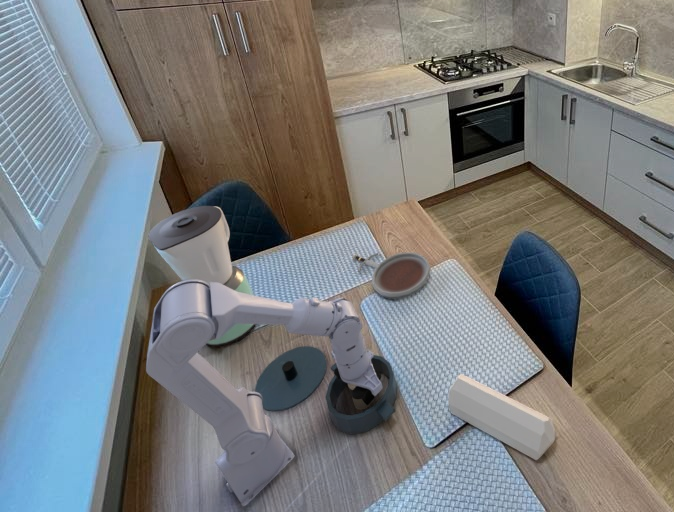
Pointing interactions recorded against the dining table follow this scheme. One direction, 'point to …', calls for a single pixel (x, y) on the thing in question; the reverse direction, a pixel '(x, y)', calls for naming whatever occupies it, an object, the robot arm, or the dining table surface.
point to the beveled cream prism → (501, 417)
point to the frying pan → (398, 274)
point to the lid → (291, 378)
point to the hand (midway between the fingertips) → (363, 393)
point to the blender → (201, 255)
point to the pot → (370, 416)
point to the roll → (358, 399)
